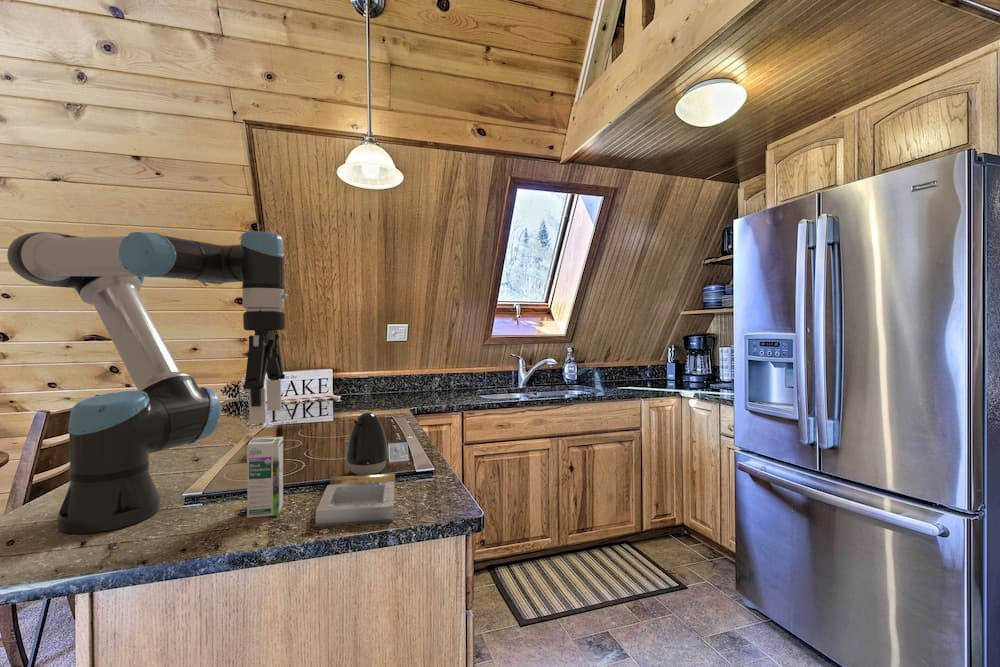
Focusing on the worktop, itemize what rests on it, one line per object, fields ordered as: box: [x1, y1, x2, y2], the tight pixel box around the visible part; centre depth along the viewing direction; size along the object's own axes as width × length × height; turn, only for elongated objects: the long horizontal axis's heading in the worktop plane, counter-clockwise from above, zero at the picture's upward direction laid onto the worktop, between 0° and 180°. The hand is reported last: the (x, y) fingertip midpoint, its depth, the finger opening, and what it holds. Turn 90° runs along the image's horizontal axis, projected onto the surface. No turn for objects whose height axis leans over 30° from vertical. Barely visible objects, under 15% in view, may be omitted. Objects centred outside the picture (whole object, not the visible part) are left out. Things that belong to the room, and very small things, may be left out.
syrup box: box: [246, 436, 284, 519], centre depth 95 cm, size 6×6×14 cm
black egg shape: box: [345, 412, 389, 476], centre depth 119 cm, size 10×10×15 cm
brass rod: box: [329, 473, 396, 488], centre depth 108 cm, size 14×3×3 cm, turn 101°
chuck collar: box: [315, 481, 395, 528], centre depth 96 cm, size 14×14×3 cm
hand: (266, 416), depth 95 cm, fingers open, 13 cm apart
